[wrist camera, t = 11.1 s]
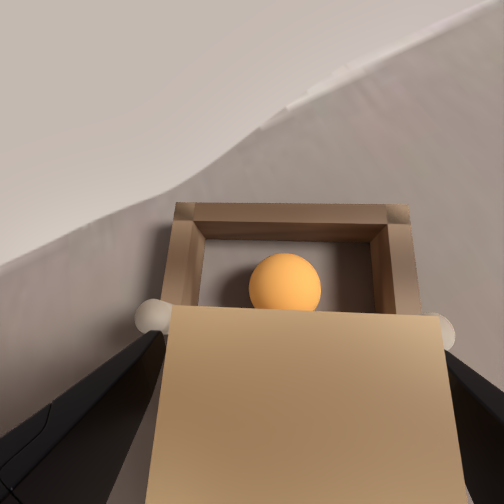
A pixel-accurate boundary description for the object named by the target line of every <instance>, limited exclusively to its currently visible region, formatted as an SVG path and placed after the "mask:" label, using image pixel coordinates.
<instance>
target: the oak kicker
mask: <svg viewBox="0 0 504 504" xmlns="http://www.w3.org/2000/svg"><path fill="white" fill-rule="evenodd" d="M145 504H468V501H467V494H466V488H465V481H464V475H463V468H462V462H461V455H460V449H459V442H458V436H457V429H456V423H455V416H454V410H453V404H452V397H451V391H450V384H449V378H448V371H447V365H446V358H445V352H444V345H443V339H442V332H441V326H440V319H439V316H421V315H397V314H373V313H349V312H325V311H302V310H278V309H254V308H230V307H206V306H182V305H172V311H171V319H170V326H169V333H168V340H167V348H166V355H165V362H164V369H163V377H162V384H161V391H160V399H159V406H158V413H157V420H156V428H155V435H154V442H153V449H152V457H151V464H150V471H149V478H148V486H147V493H146V500H145Z"/></svg>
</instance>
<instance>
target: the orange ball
mask: <svg viewBox="0 0 504 504" xmlns="http://www.w3.org/2000/svg"><path fill="white" fill-rule="evenodd" d="M249 294H250V299H251V302H252V304H253V306H254V308H255V309H278V310H302V311H314V310H315V309H316V307H317V305H318V303H319V300H320V295H321V285H320V280H319V277H318V274H317V273H316V271H315V269H314V268H313V267H312V265H311V264H310V263H309V262H307V261H306V260H305V259H303V258H302V257H299V256H297V255H294V254H289V253H280V254H275V255H272V256H269V257H267V258H266V259H264V260H263V261H262V262H260V263H259V264H258V266H257V267H256V268H255V270H254V271H253V273H252V276H251V279H250V283H249Z"/></svg>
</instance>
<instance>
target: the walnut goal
mask: <svg viewBox="0 0 504 504" xmlns="http://www.w3.org/2000/svg"><path fill="white" fill-rule="evenodd" d="M206 239H242V240H284V241H327V242H369V243H370V251H371V264H372V277H373V290H374V303H375V314H397V315H421V316H439V319H440V326H441V332H442V339H443V345H444V349H445V350H447V351H448V350H449V349H450V348H451V347H452V346H453V344H454V342H455V331H454V328H453V326H452V325H451V323H450V322H449V321H448V320H447V319H446V318H445V317H444V316H442V315H440V314H437V313H432V312H428V313H422V309H421V302H420V294H419V286H418V278H417V270H416V262H415V255H414V247H413V239H412V231H411V223H410V215H409V207H408V205H402V204H293V203H185V202H176V206H175V212H174V218H173V224H172V231H171V237H170V243H169V249H168V256H167V262H166V268H165V274H164V281H163V287H162V293H161V299H160V300H158V299H149V300H146V301H145V302H143V303H142V304H141V305H140V306H139V307H138V309H137V311H136V313H135V324H136V327H137V328H138V330H139V331H140V332H142V333H144V334H145V333H147V332H148V331H150V330H160V331H162V333H163V335H168V333H169V326H170V319H171V311H172V305H182V306H198V299H199V291H200V282H201V274H202V265H203V257H204V248H205V240H206Z"/></svg>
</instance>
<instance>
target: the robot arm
mask: <svg viewBox="0 0 504 504" xmlns="http://www.w3.org/2000/svg"><path fill="white" fill-rule="evenodd" d="M444 352H445V358H446V365H447V371H448V378H449V384H450V391H451V397H452V404H453V410H454V416H455V423H456V429H457V436H458V442H459V449H460V455H461V462H462V468H463V475H464V481H465V484H466V487H467V489H468V491H469V494H470V496H471V498H472V501H473V503H474V504H504V392H503V391H501V390H500V389H498V388H497V387H496V386H494V385H493V384H492V383H490V382H489V381H488V380H486V379H485V378H484V377H482V376H481V375H479V374H478V373H477V372H475V371H474V370H473V369H471V368H470V367H469V366H467V365H466V364H464V363H463V362H462V361H460V360H459V359H458V358H456V357H455V356H454V355H452V354H451V353H450V352H448V351H447V350H445V349H444ZM165 353H166V345H165V341H164V336H163V333H162V331H160V330H150V331H148V332H147V333H145V334H144V335H142V336H141V337H140V338H138V339H137V340H136V341H134V342H133V343H132V344H130V345H129V346H127V347H126V348H125V349H123V350H122V351H121V352H119V353H118V354H116V355H115V356H114V357H112V358H111V359H110V360H108V361H107V362H106V363H104V364H103V365H101V366H100V367H99V368H97V369H96V370H95V371H93V372H92V373H90V374H89V375H88V376H86V377H85V378H84V379H82V380H81V381H79V382H78V383H77V384H75V385H74V386H73V387H71V388H70V389H69V390H67V391H66V392H64V393H63V394H62V395H60V396H59V397H58V398H56V399H55V400H53V401H52V403H49V404H48V405H46V406H45V407H44V408H42V409H41V410H40V411H38V412H37V413H35V414H34V415H33V416H31V417H30V418H28V419H27V420H26V421H24V422H23V423H21V424H20V425H18V426H17V427H16V428H14V429H13V430H11V431H10V432H8V433H7V434H5V435H4V436H2V437H1V438H0V504H106V502H107V500H108V497H109V495H110V493H111V490H112V488H113V486H114V483H115V481H116V479H117V476H118V474H119V472H120V469H121V467H122V465H123V462H124V460H125V458H126V456H127V453H128V451H129V449H130V446H131V444H132V442H133V439H134V437H135V435H136V432H137V430H138V428H139V425H140V423H141V421H142V418H143V416H144V414H145V411H146V409H147V407H148V404H149V402H150V400H151V397H152V394H153V391H154V389H155V385H156V382H157V379H158V376H159V373H160V369H161V366H162V363H163V360H164V357H165Z"/></svg>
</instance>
